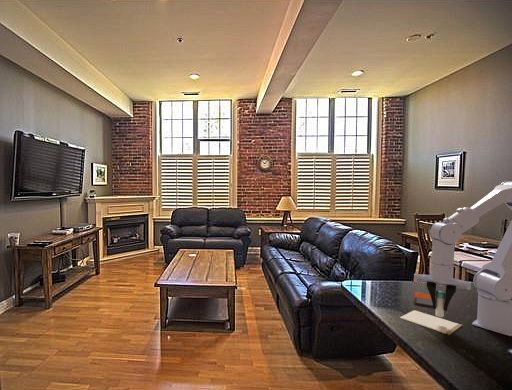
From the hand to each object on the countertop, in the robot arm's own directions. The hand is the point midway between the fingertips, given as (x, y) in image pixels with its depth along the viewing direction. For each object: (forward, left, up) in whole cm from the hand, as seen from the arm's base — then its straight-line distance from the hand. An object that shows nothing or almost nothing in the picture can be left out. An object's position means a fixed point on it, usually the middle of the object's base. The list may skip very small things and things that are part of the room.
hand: (439, 309), depth 96 cm
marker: (0, 0, -2) cm, 2 cm away
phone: (+12, -19, -6) cm, 23 cm away
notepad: (+2, 0, -5) cm, 5 cm away
